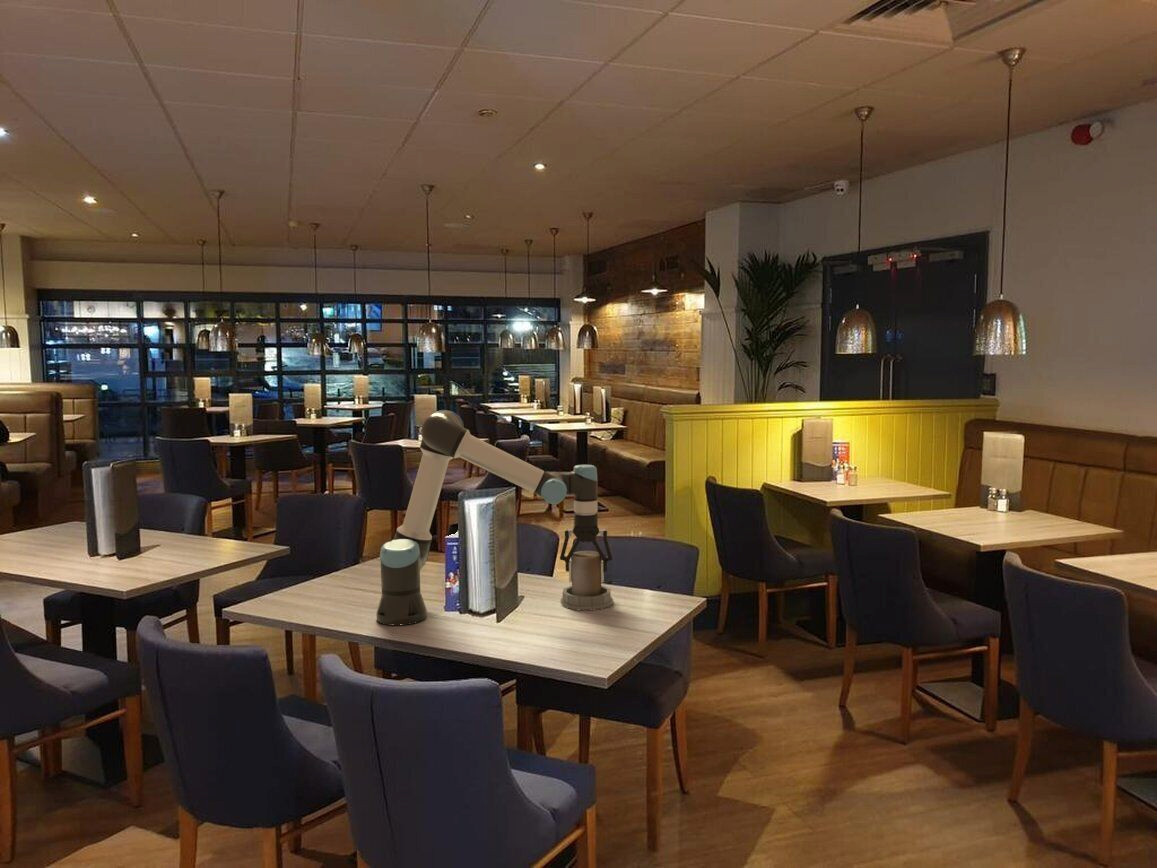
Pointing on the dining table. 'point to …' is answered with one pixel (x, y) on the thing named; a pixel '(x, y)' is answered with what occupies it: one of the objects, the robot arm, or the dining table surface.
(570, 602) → the candle dish
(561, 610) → the dining table surface
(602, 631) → the dining table surface
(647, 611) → the dining table surface
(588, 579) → the pillar candle
